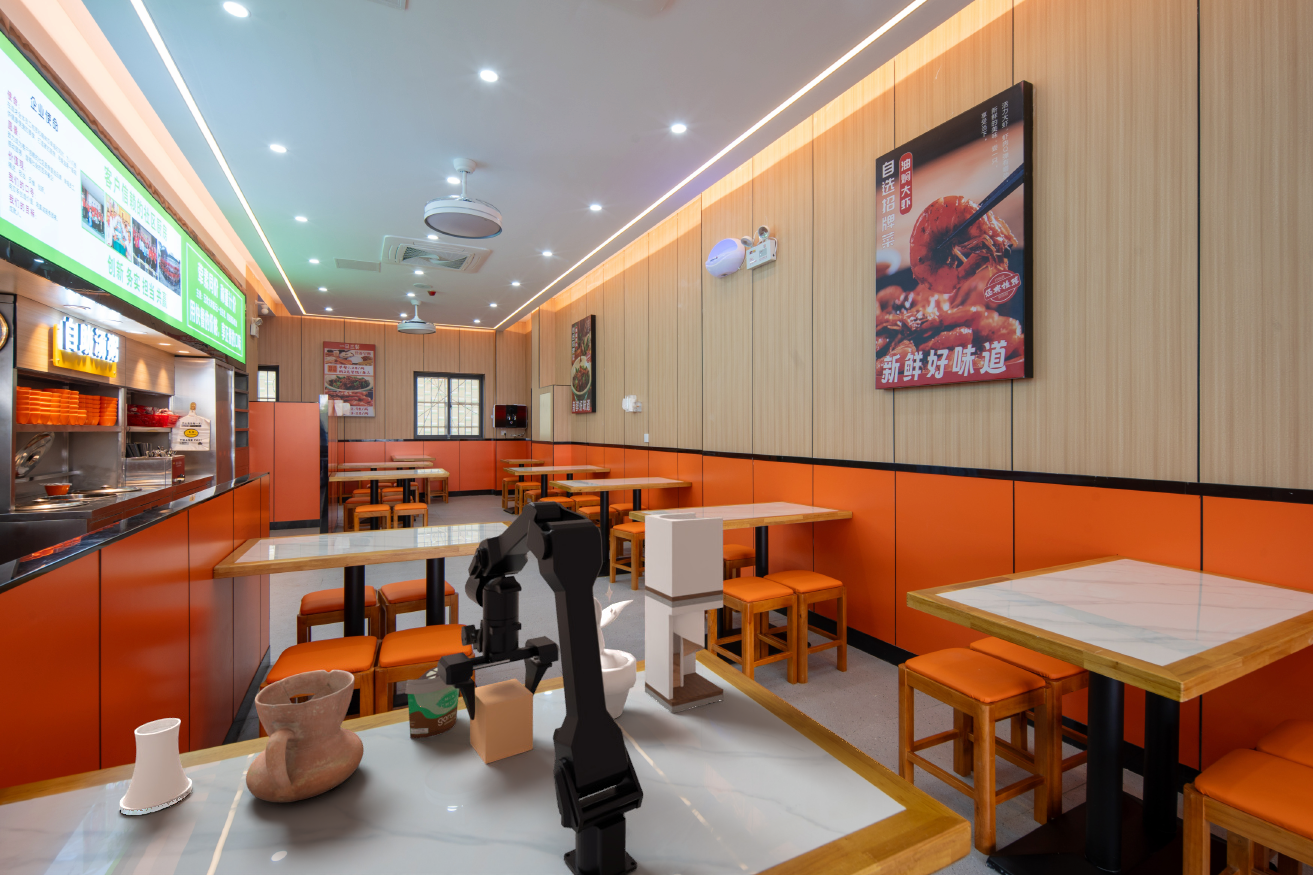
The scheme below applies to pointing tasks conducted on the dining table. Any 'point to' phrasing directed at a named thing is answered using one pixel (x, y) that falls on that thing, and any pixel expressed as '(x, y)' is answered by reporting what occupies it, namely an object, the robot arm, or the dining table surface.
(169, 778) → the vase
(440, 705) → the food container
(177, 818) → the dining table surface
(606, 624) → the potted plant
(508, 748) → the tan wooden brick
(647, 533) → the white coffee grinder
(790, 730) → the dining table surface
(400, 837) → the dining table surface
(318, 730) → the ceramic jug
